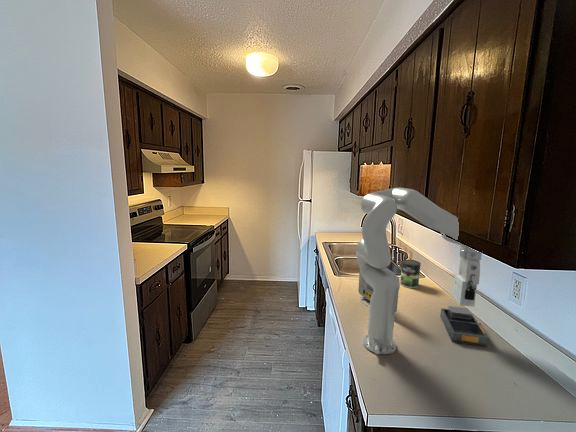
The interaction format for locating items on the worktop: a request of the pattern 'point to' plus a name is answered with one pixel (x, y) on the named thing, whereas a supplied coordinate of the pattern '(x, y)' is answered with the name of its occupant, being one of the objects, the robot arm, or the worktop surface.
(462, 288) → the small box
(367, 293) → the network device
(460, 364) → the worktop surface
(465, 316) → the module
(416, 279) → the coffee can
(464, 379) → the worktop surface
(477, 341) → the rack
